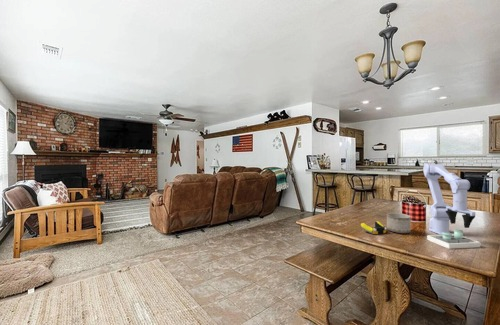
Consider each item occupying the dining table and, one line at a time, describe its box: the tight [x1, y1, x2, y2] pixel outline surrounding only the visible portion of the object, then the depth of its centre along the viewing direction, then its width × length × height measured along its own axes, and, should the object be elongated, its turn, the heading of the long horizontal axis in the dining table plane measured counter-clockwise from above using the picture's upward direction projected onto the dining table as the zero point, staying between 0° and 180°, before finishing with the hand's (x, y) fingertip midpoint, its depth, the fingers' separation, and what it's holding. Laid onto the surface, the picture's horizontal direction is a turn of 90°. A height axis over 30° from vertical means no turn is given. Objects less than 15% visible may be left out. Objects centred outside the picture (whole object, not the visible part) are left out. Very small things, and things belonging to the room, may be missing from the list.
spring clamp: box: [360, 220, 387, 235], centre depth 145 cm, size 15×6×10 cm
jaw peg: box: [453, 228, 464, 239], centre depth 124 cm, size 4×4×6 cm
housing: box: [426, 232, 482, 250], centre depth 124 cm, size 18×13×6 cm
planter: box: [386, 212, 411, 234], centre depth 145 cm, size 13×13×10 cm
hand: (459, 225), depth 125 cm, fingers open, 7 cm apart
